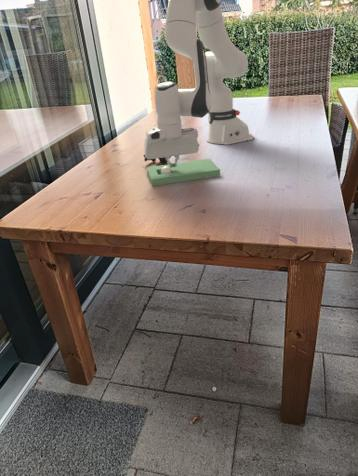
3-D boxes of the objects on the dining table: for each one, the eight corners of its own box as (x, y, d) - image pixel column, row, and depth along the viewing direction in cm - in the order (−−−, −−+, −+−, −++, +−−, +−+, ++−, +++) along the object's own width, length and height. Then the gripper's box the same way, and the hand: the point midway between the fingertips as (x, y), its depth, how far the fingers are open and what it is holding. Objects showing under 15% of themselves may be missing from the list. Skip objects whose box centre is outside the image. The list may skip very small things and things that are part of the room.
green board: (209, 164, 154) (209, 158, 153) (220, 175, 142) (219, 169, 141) (147, 173, 150) (146, 167, 149) (152, 186, 138) (151, 179, 137)
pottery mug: (153, 172, 153) (143, 153, 152) (149, 175, 162) (140, 157, 161) (178, 158, 156) (168, 140, 154) (173, 162, 165) (164, 145, 164)
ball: (170, 174, 147) (169, 164, 145) (172, 177, 143) (171, 167, 141) (160, 175, 146) (159, 165, 144) (161, 179, 143) (161, 168, 141)
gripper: (195, 125, 141) (197, 160, 148) (141, 132, 138) (145, 168, 145) (199, 128, 136) (201, 165, 143) (143, 136, 133) (148, 173, 140)
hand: (172, 166), depth 144 cm, fingers closed
